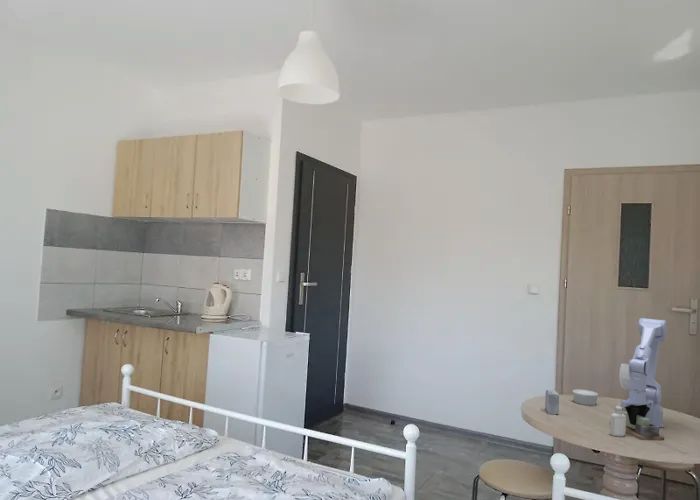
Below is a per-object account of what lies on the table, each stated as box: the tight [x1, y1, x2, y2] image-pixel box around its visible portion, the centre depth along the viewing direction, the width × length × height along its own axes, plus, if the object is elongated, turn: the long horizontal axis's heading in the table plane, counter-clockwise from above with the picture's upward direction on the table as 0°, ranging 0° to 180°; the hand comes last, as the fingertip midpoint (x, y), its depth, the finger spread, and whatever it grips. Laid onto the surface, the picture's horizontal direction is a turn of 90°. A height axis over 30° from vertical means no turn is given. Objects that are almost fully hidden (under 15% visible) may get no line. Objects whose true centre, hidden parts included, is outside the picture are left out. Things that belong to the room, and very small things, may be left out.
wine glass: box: [618, 363, 630, 392], centre depth 239 cm, size 7×7×21 cm
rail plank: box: [622, 411, 650, 429], centre depth 207 cm, size 3×10×5 cm, turn 18°
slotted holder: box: [625, 423, 665, 441], centre depth 206 cm, size 10×18×4 cm, turn 8°
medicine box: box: [544, 389, 560, 415], centre depth 229 cm, size 8×4×9 cm, turn 168°
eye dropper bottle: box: [609, 403, 627, 437], centre depth 201 cm, size 4×6×12 cm
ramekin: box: [572, 389, 599, 407], centre depth 249 cm, size 11×11×5 cm
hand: (636, 424), depth 206 cm, fingers closed on rail plank, 3 cm apart
